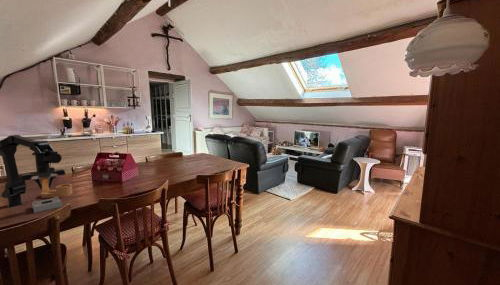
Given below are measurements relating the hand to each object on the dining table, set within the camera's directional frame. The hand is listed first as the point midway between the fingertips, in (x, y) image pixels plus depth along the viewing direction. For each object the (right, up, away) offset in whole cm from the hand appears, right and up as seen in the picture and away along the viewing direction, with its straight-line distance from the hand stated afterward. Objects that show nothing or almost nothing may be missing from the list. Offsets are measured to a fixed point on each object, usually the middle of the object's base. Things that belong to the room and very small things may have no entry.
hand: (45, 188), depth 131 cm
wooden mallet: (-11, -9, +21) cm, 26 cm away
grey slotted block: (0, -11, +1) cm, 11 cm away
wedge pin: (0, -2, 0) cm, 2 cm away
